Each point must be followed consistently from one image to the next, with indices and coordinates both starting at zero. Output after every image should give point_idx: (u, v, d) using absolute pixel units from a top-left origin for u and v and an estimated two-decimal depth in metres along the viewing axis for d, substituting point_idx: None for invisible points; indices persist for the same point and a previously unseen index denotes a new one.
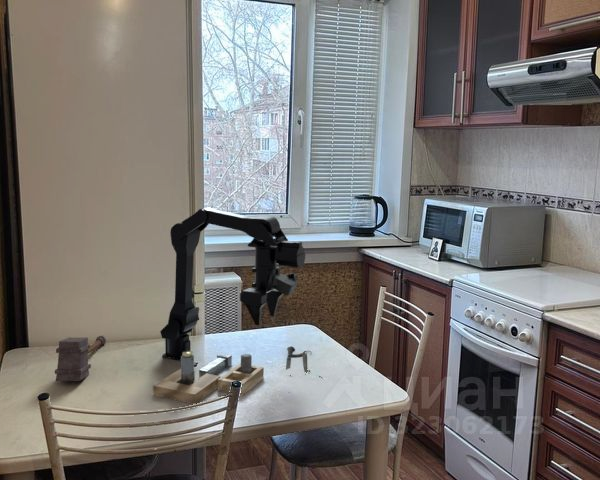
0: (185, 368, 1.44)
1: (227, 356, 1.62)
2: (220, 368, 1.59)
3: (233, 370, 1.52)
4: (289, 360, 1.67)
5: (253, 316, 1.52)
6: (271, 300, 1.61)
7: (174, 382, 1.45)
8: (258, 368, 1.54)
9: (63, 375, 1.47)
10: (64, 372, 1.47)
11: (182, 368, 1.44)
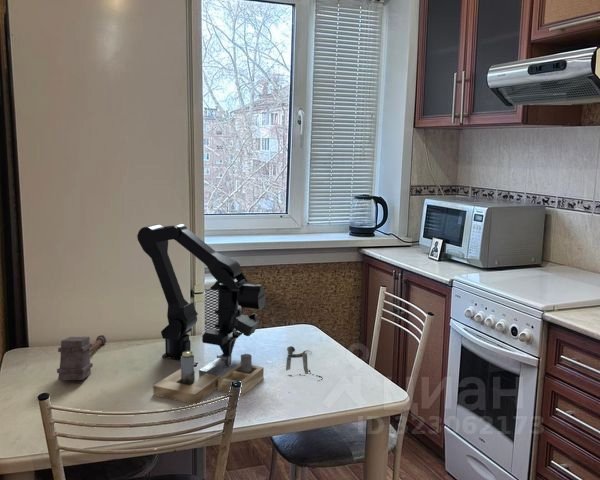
0: (185, 368, 1.44)
1: (227, 356, 1.62)
2: (220, 368, 1.59)
3: (233, 370, 1.52)
4: (289, 360, 1.67)
5: (223, 350, 1.64)
6: None
7: (174, 382, 1.45)
8: (258, 368, 1.54)
9: (65, 374, 1.48)
10: (66, 371, 1.47)
11: (182, 368, 1.44)
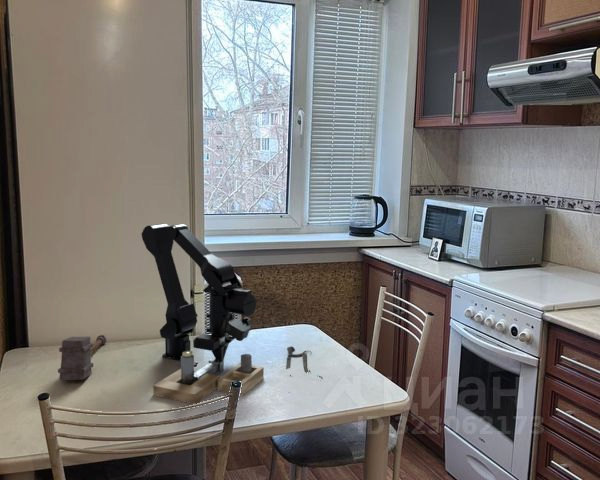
0: (185, 368, 1.44)
1: (219, 361, 1.58)
2: (212, 374, 1.55)
3: (233, 370, 1.52)
4: (289, 360, 1.67)
5: (216, 355, 1.60)
6: None
7: (174, 382, 1.45)
8: (258, 368, 1.54)
9: (66, 374, 1.48)
10: (68, 371, 1.48)
11: (182, 368, 1.44)
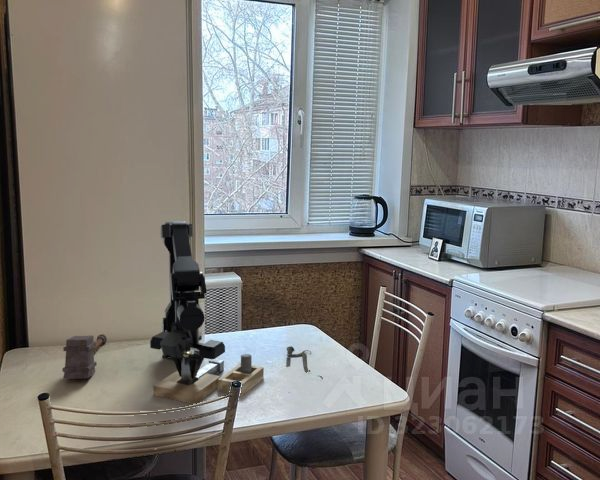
0: (185, 368, 1.44)
1: (219, 361, 1.58)
2: (212, 374, 1.55)
3: (233, 370, 1.52)
4: (289, 360, 1.68)
5: None
6: None
7: (174, 382, 1.45)
8: (258, 368, 1.54)
9: (71, 373, 1.49)
10: (72, 370, 1.48)
11: (182, 368, 1.44)
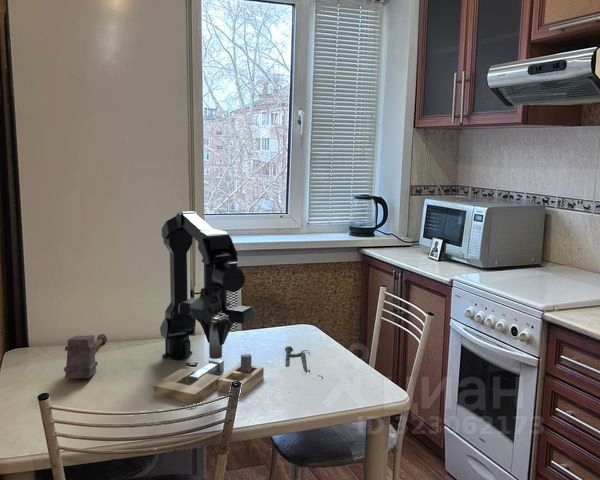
0: (213, 334, 1.43)
1: (219, 361, 1.58)
2: (212, 374, 1.55)
3: (233, 370, 1.52)
4: (288, 360, 1.67)
5: None
6: None
7: (174, 382, 1.45)
8: (258, 368, 1.54)
9: (72, 372, 1.49)
10: (73, 369, 1.49)
11: (210, 334, 1.44)
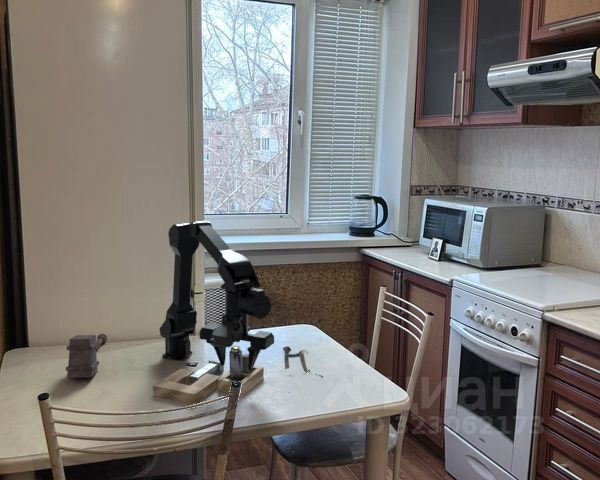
0: (234, 363, 1.46)
1: (219, 361, 1.58)
2: (212, 374, 1.55)
3: None
4: (287, 360, 1.67)
5: None
6: None
7: (174, 382, 1.45)
8: (258, 368, 1.54)
9: (74, 372, 1.49)
10: (75, 369, 1.49)
11: (231, 363, 1.46)
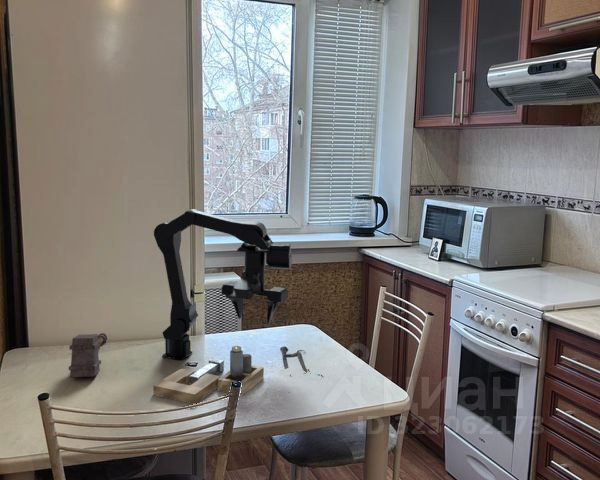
0: (235, 363, 1.46)
1: (219, 361, 1.58)
2: (212, 374, 1.55)
3: None
4: (285, 360, 1.67)
5: None
6: None
7: (174, 382, 1.45)
8: (258, 368, 1.54)
9: (77, 371, 1.50)
10: (78, 368, 1.49)
11: (231, 363, 1.46)
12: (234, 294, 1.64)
